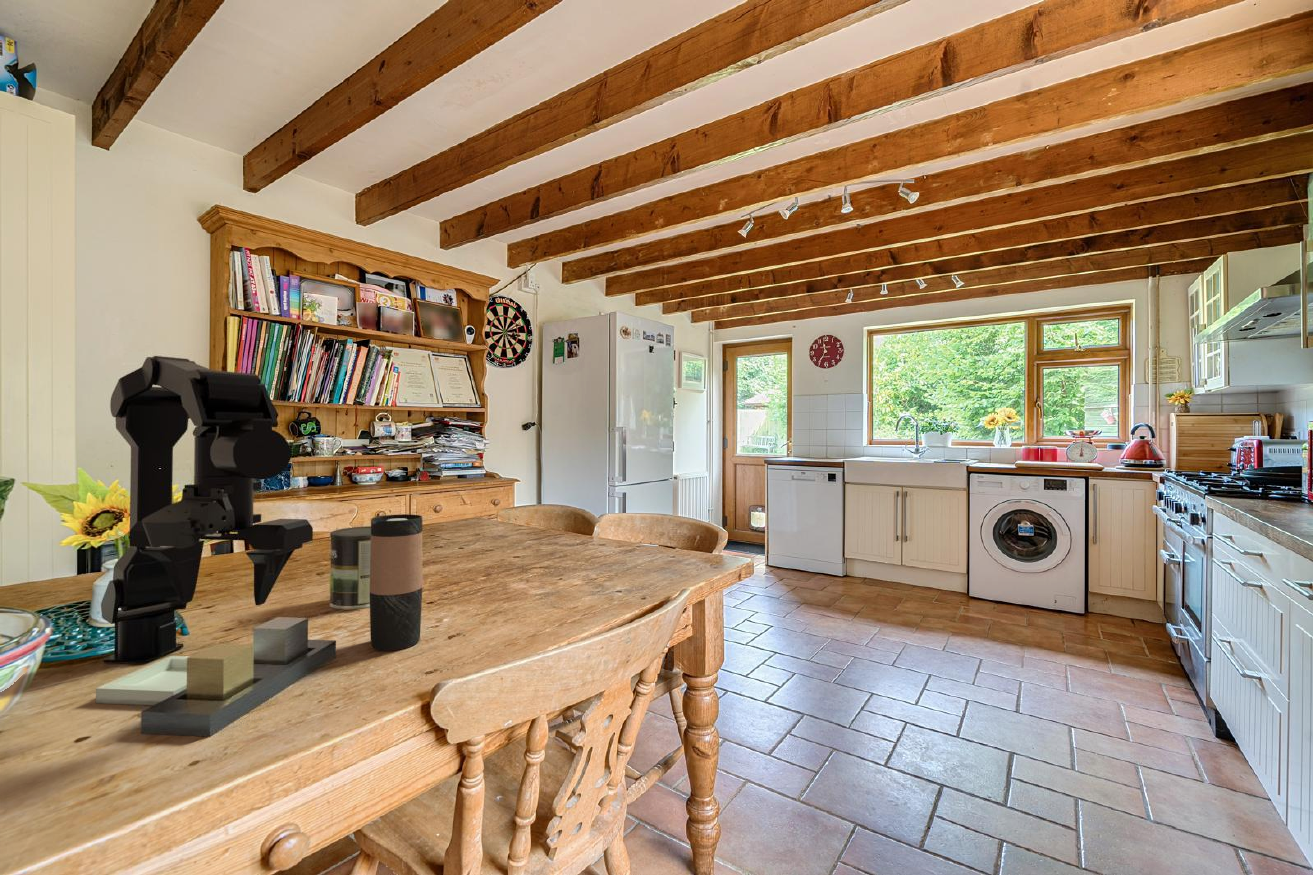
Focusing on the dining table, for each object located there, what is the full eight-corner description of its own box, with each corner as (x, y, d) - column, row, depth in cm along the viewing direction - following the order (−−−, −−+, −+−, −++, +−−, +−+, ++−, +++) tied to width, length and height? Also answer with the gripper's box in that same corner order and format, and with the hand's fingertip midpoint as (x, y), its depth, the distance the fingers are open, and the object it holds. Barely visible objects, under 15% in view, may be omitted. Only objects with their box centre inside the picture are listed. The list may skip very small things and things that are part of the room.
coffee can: (326, 612, 103) (327, 536, 103) (332, 597, 112) (333, 527, 112) (388, 606, 107) (389, 533, 107) (389, 592, 116) (389, 525, 116)
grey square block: (252, 679, 75) (253, 628, 75) (277, 665, 80) (277, 617, 80) (284, 681, 75) (285, 629, 75) (307, 667, 79) (307, 618, 79)
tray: (95, 703, 68) (95, 688, 68) (171, 668, 78) (171, 655, 78) (173, 706, 68) (173, 691, 68) (239, 671, 78) (239, 658, 78)
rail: (140, 733, 61) (141, 711, 61) (284, 654, 83) (284, 638, 83) (210, 736, 61) (210, 714, 61) (335, 656, 83) (335, 640, 83)
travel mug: (429, 634, 93) (430, 514, 93) (410, 651, 85) (411, 521, 85) (382, 634, 92) (383, 514, 92) (359, 651, 85) (360, 520, 85)
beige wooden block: (186, 717, 65) (186, 657, 65) (218, 699, 70) (219, 643, 70) (223, 719, 65) (223, 659, 65) (253, 700, 69) (253, 644, 69)
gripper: (79, 478, 60) (77, 623, 60) (247, 482, 59) (245, 629, 59) (173, 471, 71) (172, 594, 71) (316, 474, 70) (314, 598, 70)
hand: (223, 603), depth 67 cm, fingers open, 9 cm apart
